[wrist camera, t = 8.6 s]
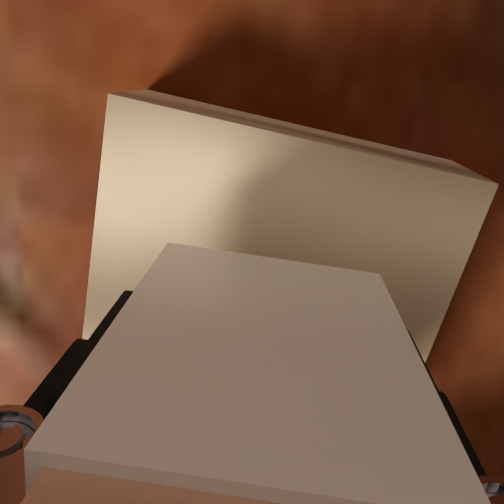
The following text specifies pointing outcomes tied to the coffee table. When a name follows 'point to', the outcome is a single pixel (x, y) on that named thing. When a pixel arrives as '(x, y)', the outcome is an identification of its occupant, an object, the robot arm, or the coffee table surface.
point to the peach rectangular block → (251, 396)
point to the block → (278, 202)
